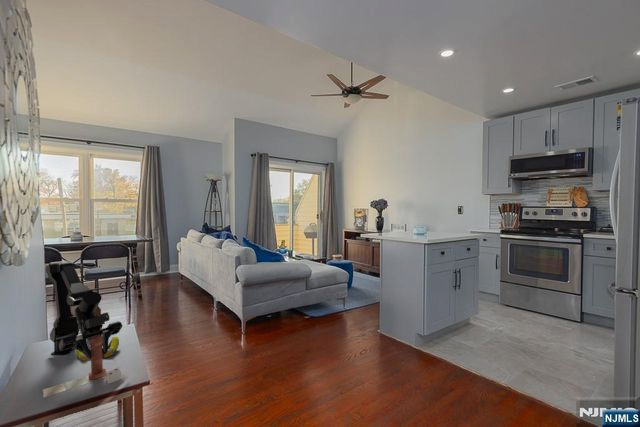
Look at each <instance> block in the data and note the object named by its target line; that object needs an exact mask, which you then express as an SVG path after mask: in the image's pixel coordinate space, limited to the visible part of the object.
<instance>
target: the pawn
mask: <svg viewBox="0 0 640 427" xmlns="http://www.w3.org/2000/svg"><path fill="white" fill-rule="evenodd" d="M102 343H103V339H102V337H100V336H96V337H93V338H92V339H91V340H89V347H90V350H91V356H92V358H91V359H90V368H91V370H90V372H89V373H88V375H87V376H88V378H89V379H90V380H94V379H98V378H101V377H103V376H104V375H105V374H106V371H107V370H106V368H104V366H103V364H104V362H103V359H102V348H103V346H102ZM88 378H87V379H88Z"/></svg>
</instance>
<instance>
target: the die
mask: <svg viewBox="0 0 640 427" xmlns="http://www.w3.org/2000/svg"><path fill="white" fill-rule="evenodd" d="M121 380H122V371H121V369H120V367H115V368H112V369H109V370H106V378H105V381H106V383H107V385H109V384H112V383H115V382H118V381H121Z"/></svg>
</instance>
